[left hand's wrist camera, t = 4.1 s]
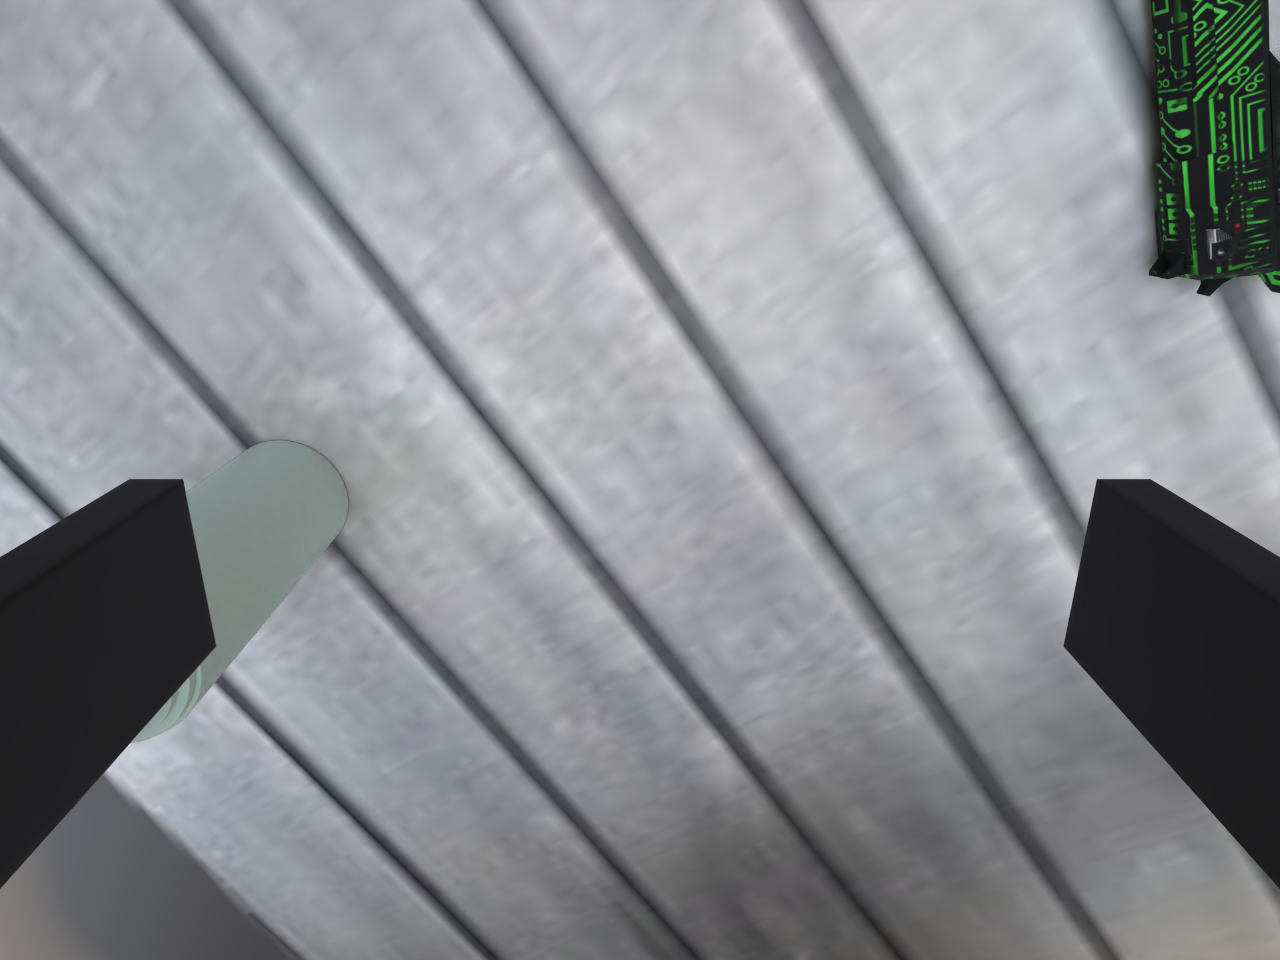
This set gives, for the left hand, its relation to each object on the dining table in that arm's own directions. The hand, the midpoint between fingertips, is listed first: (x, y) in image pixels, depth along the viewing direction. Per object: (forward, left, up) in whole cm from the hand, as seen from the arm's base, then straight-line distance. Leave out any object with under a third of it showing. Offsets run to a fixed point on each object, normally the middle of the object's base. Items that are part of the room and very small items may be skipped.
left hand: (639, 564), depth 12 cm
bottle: (+10, -18, -28) cm, 35 cm away
